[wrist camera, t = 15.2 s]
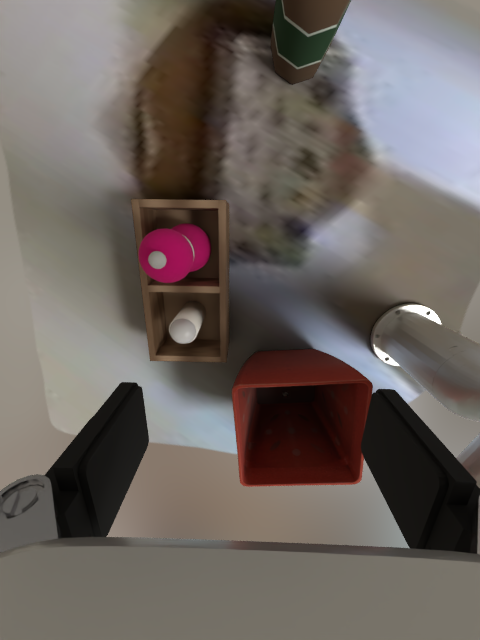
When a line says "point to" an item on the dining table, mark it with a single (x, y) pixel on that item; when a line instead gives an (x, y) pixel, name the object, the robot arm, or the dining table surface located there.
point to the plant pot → (299, 419)
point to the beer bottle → (303, 35)
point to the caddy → (187, 280)
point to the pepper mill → (174, 252)
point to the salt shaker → (187, 322)
